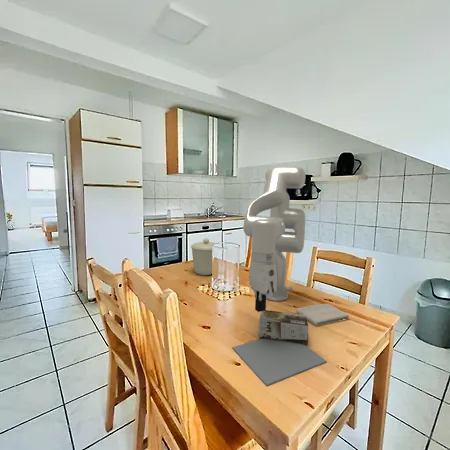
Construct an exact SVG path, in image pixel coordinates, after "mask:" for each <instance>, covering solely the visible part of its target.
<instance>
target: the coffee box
mask: <svg viewBox="0 0 450 450" xmlns="http://www.w3.org/2000/svg"><path fill="white" fill-rule="evenodd" d="M258 322H259V323H258V335H257V336H258V337H260V338H272V339H279V340H285V341H292V342H298V343H303V344H304V345H305V344H306V345H307V344H308V342H309V323H308V322H309V321H307V318H306V315H303V314H297V313H294V312H286V311H285V312H284V311H276V310H270V309H269V310H268V309H266V310H265V311H261V312H260V316H259V319H258Z"/></svg>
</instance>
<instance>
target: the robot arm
mask: <svg viewBox="0 0 450 450" xmlns="http://www.w3.org/2000/svg"><path fill="white" fill-rule="evenodd" d="M305 183H306V172H305V170H304V169H303V168H302V167H299V166H277V167H276V166H275V167H272V168H270V169H268V170H266V173H265V183H264V187H263V192H262V194H261V195H259V196H258V197H256V198H255V199H254V200H253V201H252V202H251V203H250V204H249V205H248V207H247V209H246V212H245V213H246V214H245V216H244V217H245V218H244V220H243V232H244V234H245V236H248V237H250V238H251V254H250V255H251V256H250V258H251V259H250V265H249V272H248V285H249V287H250V288H251V290H252V291H253V293H254V298H255V301H254V303H255V305H254V310H255V311H256V312H258V313H261V311H265V310H267V309H266V308H267V301H272V302H282V301H286V300H288V298H289V294H288V292H290V291H293V289H294V288H293V287H292V286H287V285H286V279H287V261H288V260H287V259H286V256H285V255H284V254H283V253H291V254H300V253H302V252H303V250H304V245H305V231H306V213H305V211H304V210H303V209H302V208H295V207H293V208H292V207H290V202H291V201H290V200H291V199H290V195H289V193H288V192H287V189H302V188H303V187H304V186H305ZM267 210H268V211H269V210H270V211H269V212H270V213H269V216H262V215H259V214H261V213H263V212H265V211H267ZM287 229H289V230H291V229H292V230H293V231H286V230H287Z"/></svg>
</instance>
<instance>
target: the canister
mask: <svg viewBox="0 0 450 450" xmlns="http://www.w3.org/2000/svg"><path fill="white" fill-rule="evenodd" d="M214 244H218V243H216V242H214V241H213V242H211V241H210V239H209V238H204V239H203V240H202V241H199V242H195V243H192V244H191V245H190V248H191V251H192V263H193V270H194V272H195V273H196V274H197V275H199V276H211V274H212V245H214ZM212 275H213V274H212Z"/></svg>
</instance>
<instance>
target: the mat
mask: <svg viewBox="0 0 450 450" xmlns="http://www.w3.org/2000/svg"><path fill="white" fill-rule="evenodd" d="M232 350H234V352H235V353H236V354H237V355H238V356H239V358H241V360H242V361H243V362H244V363H245V365H247V367H248V368H249V369H250V370H251V371H252V372H253V373H254V374H255V376H257V377H258V378H259V380H260V381H261V382H262V383H263V384H264V386H266V387H269V386H271V385H273V384H275V383H278V382H280V381H282V380H286V379H288V378H291V377H293V376H296V375H298V374H301V373H303V372H306V371H308V370H311V369H313V368H317V367H319V366H321V365H323V363H324V364H326V363H327V360H326V359H324V357H321V356H320V355H319V354H318V353H317V352H315V351H313V350H312V349H311V348H309V346H307V345H305V343H298V342H292V341H285V340H279V339H272V338H265V337H261V338H260V339H256V340H252V341H250V342H249V341H248V342H246V343H243V344H239V345H235V346H232Z"/></svg>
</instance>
